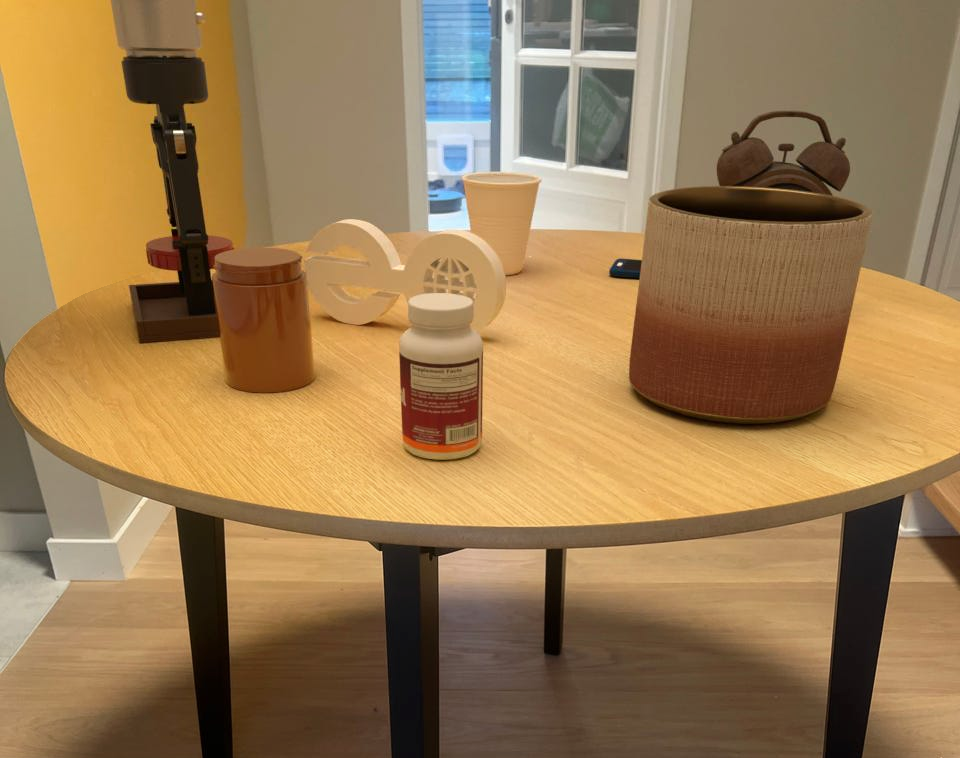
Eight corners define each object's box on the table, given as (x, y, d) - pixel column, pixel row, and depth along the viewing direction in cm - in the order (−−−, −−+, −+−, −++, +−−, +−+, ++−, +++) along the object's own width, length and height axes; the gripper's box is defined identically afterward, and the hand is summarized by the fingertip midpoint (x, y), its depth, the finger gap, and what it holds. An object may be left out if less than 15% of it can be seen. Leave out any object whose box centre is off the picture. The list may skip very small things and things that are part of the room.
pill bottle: (418, 427, 76) (415, 286, 70) (491, 437, 75) (495, 293, 69) (390, 456, 71) (384, 307, 65) (467, 467, 70) (469, 315, 64)
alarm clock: (701, 317, 105) (731, 113, 94) (687, 301, 111) (714, 107, 100) (829, 319, 106) (874, 115, 94) (809, 302, 112) (848, 109, 100)
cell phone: (615, 263, 126) (616, 257, 126) (721, 271, 123) (722, 265, 123) (607, 276, 120) (608, 269, 120) (718, 284, 117) (719, 278, 117)
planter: (874, 409, 82) (925, 213, 73) (717, 445, 74) (754, 231, 65) (733, 353, 94) (762, 180, 85) (587, 379, 87) (603, 192, 78)
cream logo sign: (504, 339, 97) (507, 234, 91) (496, 344, 95) (499, 239, 90) (319, 313, 104) (312, 214, 98) (309, 318, 102) (300, 218, 97)
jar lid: (229, 250, 103) (227, 233, 102) (239, 268, 96) (237, 250, 95) (146, 254, 101) (143, 236, 100) (150, 273, 94) (147, 254, 93)
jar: (231, 396, 81) (214, 269, 76) (220, 368, 88) (204, 249, 82) (323, 387, 84) (313, 263, 78) (306, 361, 90) (295, 244, 84)
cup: (445, 269, 122) (444, 176, 116) (498, 258, 128) (500, 169, 122) (500, 283, 116) (502, 186, 110) (552, 271, 122) (558, 178, 116)
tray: (139, 343, 94) (135, 321, 93) (132, 304, 106) (128, 284, 105) (274, 332, 98) (272, 311, 96) (252, 295, 110) (250, 277, 108)
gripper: (216, 60, 81) (247, 326, 94) (192, 49, 98) (221, 277, 110) (124, 59, 79) (169, 332, 91) (116, 48, 95) (154, 281, 108)
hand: (197, 302), depth 101 cm, fingers closed on jar lid, 9 cm apart
